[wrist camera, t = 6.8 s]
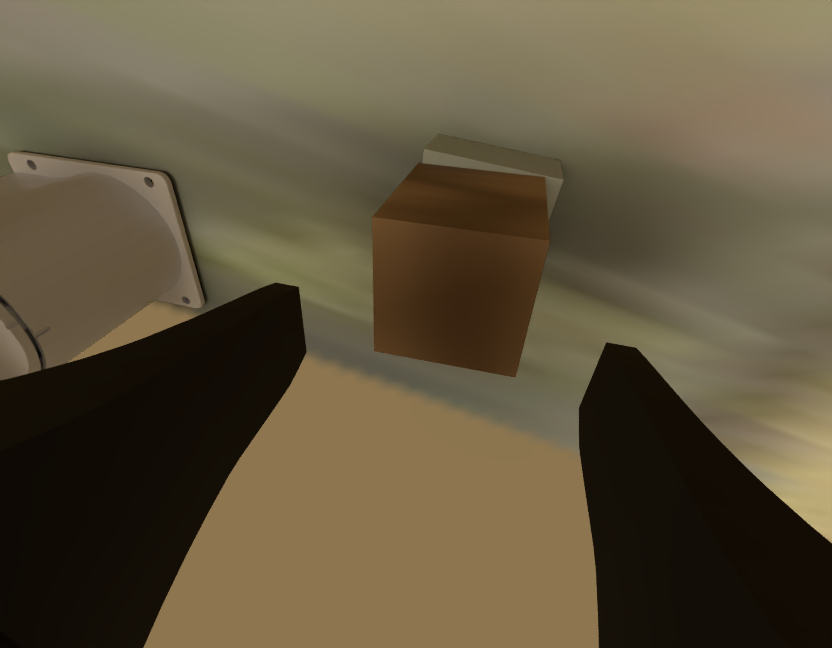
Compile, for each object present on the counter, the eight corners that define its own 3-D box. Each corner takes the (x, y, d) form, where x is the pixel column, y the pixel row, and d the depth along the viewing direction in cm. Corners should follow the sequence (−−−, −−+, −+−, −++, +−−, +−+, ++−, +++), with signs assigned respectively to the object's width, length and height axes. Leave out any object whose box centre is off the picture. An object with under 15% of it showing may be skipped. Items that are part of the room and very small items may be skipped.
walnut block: (413, 271, 18) (374, 351, 13) (418, 162, 15) (372, 217, 11) (520, 288, 17) (515, 377, 13) (545, 177, 15) (550, 241, 10)
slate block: (420, 241, 20) (405, 270, 18) (439, 132, 17) (424, 148, 15) (522, 266, 20) (520, 299, 17) (559, 158, 17) (563, 179, 14)
